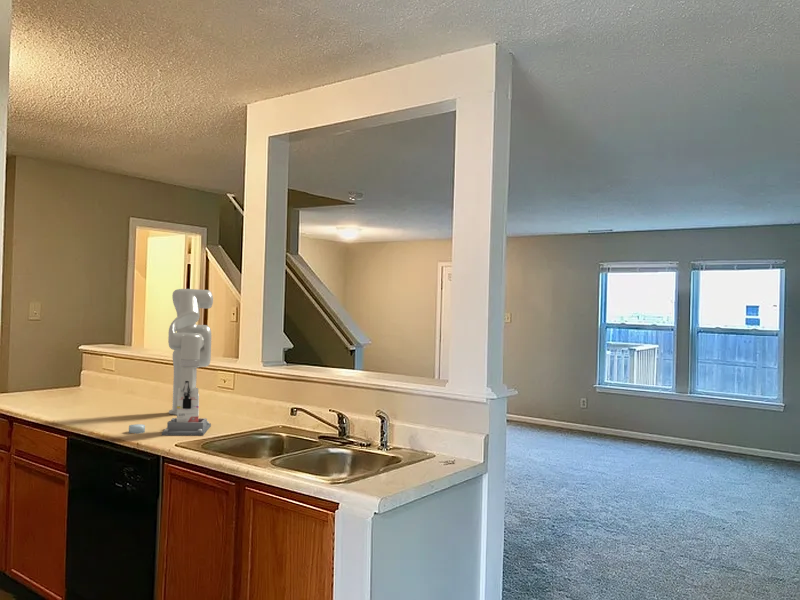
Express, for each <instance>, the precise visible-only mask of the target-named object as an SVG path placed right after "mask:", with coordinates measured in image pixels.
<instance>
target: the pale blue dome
mask: <svg viewBox="0 0 800 600" xmlns="http://www.w3.org/2000/svg"><path fill="white" fill-rule="evenodd" d="M145 432H146V425H145V424H142V423H140V424H139V423H137V424H130V425H129V426H128V434H131V433H134V434H135V433H136V434H135V435H138V434H144V433H145Z"/></svg>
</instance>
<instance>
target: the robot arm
mask: <svg viewBox="0 0 800 600" xmlns="http://www.w3.org/2000/svg"><path fill="white" fill-rule="evenodd" d="M213 296H214V295H213V293H212V291H211V290H209V289H197V288H195V289H194V288H178V289H175V290H174V291H173V292H172V303H173V306H174V309H175V311H176V318H174V319H173V320H172V322H171V323H170V325H169V328H168V337H167V339H168V343H167V344H168V347H169V349H171V350H173V351H172V365H173V384H172V405H171V406H172V408H171V409H169V410H168V414H169V415H174V416H177V396H178V388H180V391H181V390H184V395H183V409H190V408H191V399H190V398H191V392H192V391H193V388H197V373H198V372H197V368H205V367H208V366H210V364H211V360H212V359H211V358H212V330H211V328H210V326H209V325H207V324H197V323H198V321H199V319H200V316H201V315H200V309H211V308H212V307H213V304H214V297H213ZM189 390H190V391H189ZM181 392H182V391H181Z"/></svg>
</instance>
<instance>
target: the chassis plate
mask: <svg viewBox="0 0 800 600" xmlns="http://www.w3.org/2000/svg"><path fill="white" fill-rule="evenodd" d="M166 426H167V427H166V428H164V430H163V431H161V436H190V437H191V436H192V437H193V436H196V437H197V436H202V437H203V436H204V435H206V433H207V431H208V430H209V429H210V428H211V426H212V423H210V421H208V418H205V417H203V418H199V417H198V422H177V417H172V418H171V419H170V420H169V421H167V425H166Z"/></svg>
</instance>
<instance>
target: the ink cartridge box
mask: <svg viewBox="0 0 800 600" xmlns="http://www.w3.org/2000/svg"><path fill="white" fill-rule="evenodd" d="M181 391H182V392H181ZM181 391H180V388H178V396H177V415H176V418H177V422H198V418H199V414H200V409H199V408H200V400H199V399H200V393H199V388H198V387H196V388H193V391H192V392H191V398H190V399H191V408H190V409H183V395H184V390H181ZM189 391H190V390H189Z"/></svg>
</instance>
